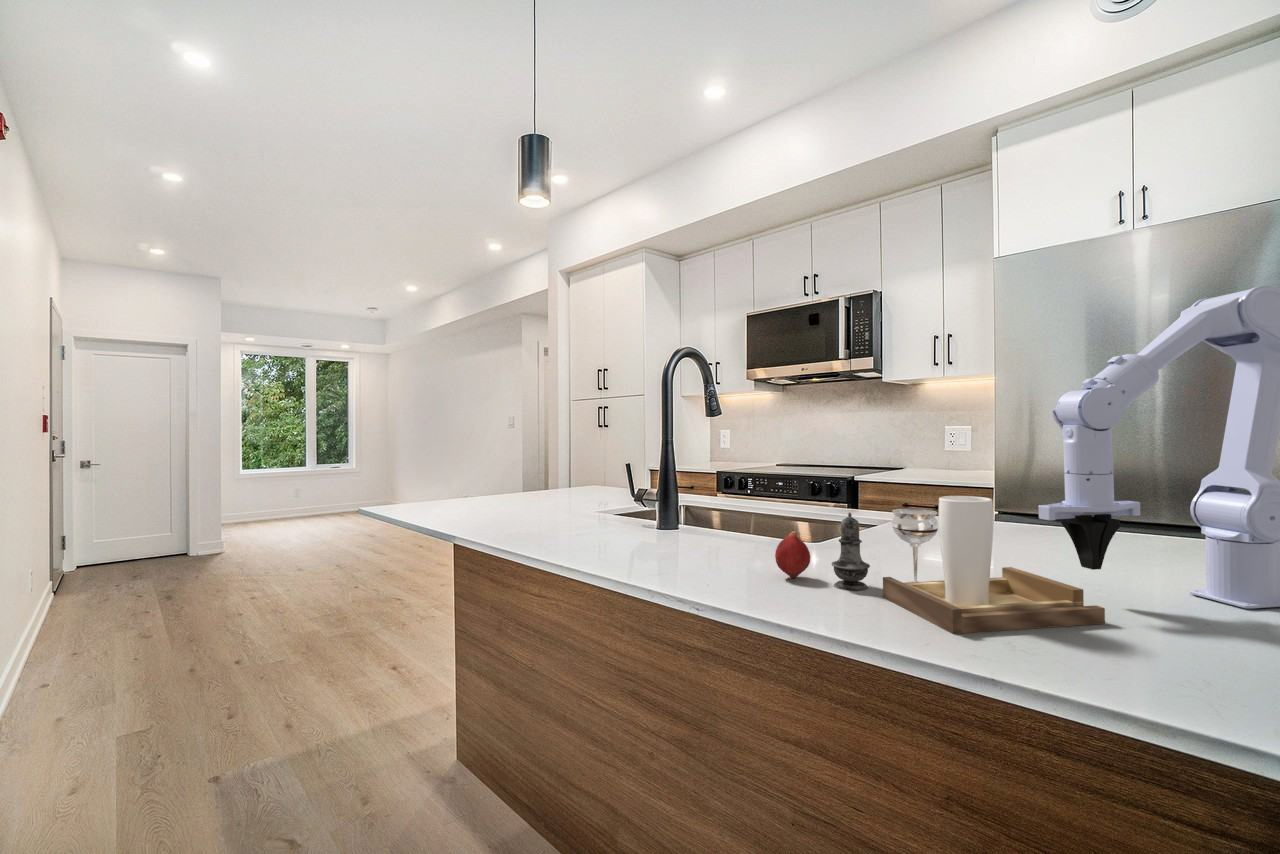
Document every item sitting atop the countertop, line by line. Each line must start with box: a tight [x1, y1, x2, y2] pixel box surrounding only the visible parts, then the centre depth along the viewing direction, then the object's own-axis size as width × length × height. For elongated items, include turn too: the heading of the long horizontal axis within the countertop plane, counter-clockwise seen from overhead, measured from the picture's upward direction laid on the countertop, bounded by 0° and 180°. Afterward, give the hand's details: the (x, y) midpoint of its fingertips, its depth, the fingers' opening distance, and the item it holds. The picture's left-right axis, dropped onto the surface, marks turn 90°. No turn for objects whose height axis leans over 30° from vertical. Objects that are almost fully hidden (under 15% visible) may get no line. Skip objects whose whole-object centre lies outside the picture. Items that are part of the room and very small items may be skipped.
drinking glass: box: [938, 495, 995, 607], centre depth 86 cm, size 7×7×15 cm
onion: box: [774, 530, 811, 579], centre depth 106 cm, size 6×6×8 cm
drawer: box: [904, 566, 1085, 614], centre depth 86 cm, size 18×13×4 cm
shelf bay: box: [882, 576, 1106, 634], centre depth 86 cm, size 21×17×3 cm
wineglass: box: [891, 508, 939, 583], centre depth 99 cm, size 7×7×12 cm
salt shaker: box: [831, 511, 871, 592], centre depth 100 cm, size 6×6×12 cm
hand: (1091, 567), depth 88 cm, fingers closed
